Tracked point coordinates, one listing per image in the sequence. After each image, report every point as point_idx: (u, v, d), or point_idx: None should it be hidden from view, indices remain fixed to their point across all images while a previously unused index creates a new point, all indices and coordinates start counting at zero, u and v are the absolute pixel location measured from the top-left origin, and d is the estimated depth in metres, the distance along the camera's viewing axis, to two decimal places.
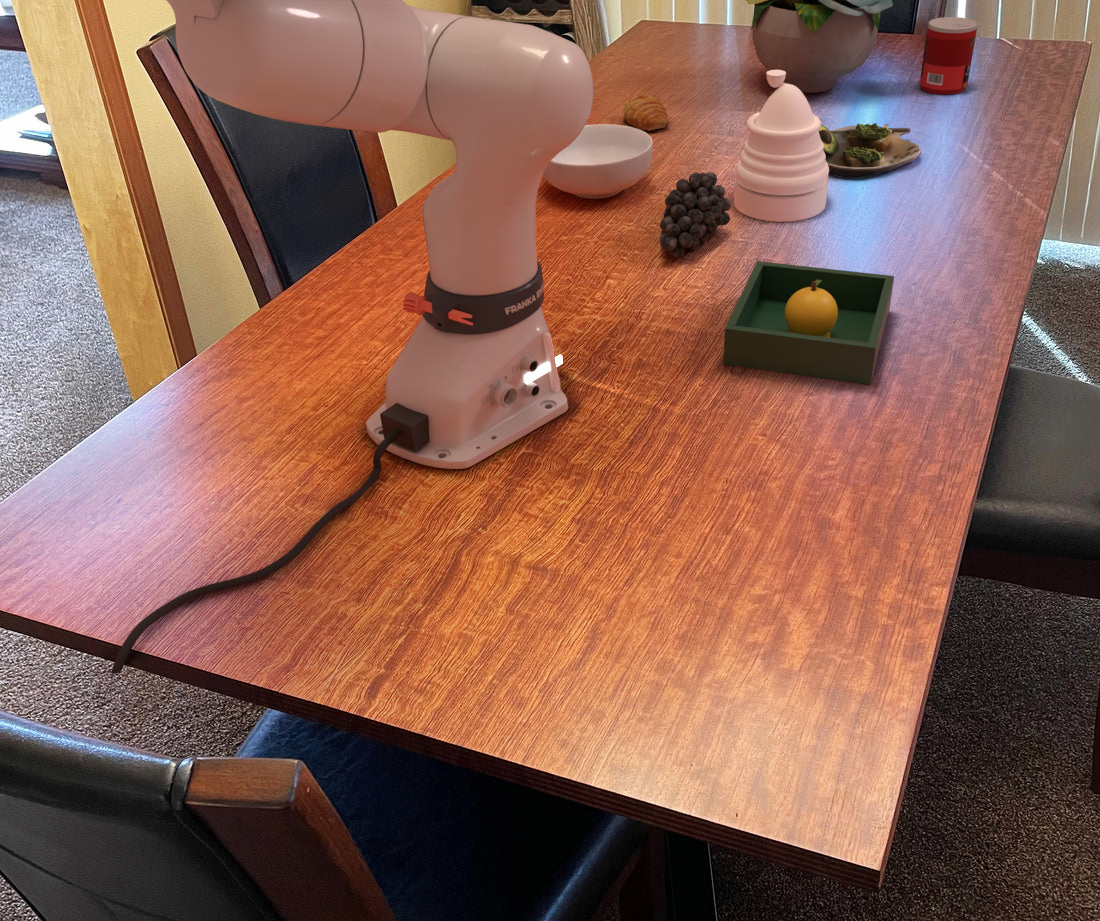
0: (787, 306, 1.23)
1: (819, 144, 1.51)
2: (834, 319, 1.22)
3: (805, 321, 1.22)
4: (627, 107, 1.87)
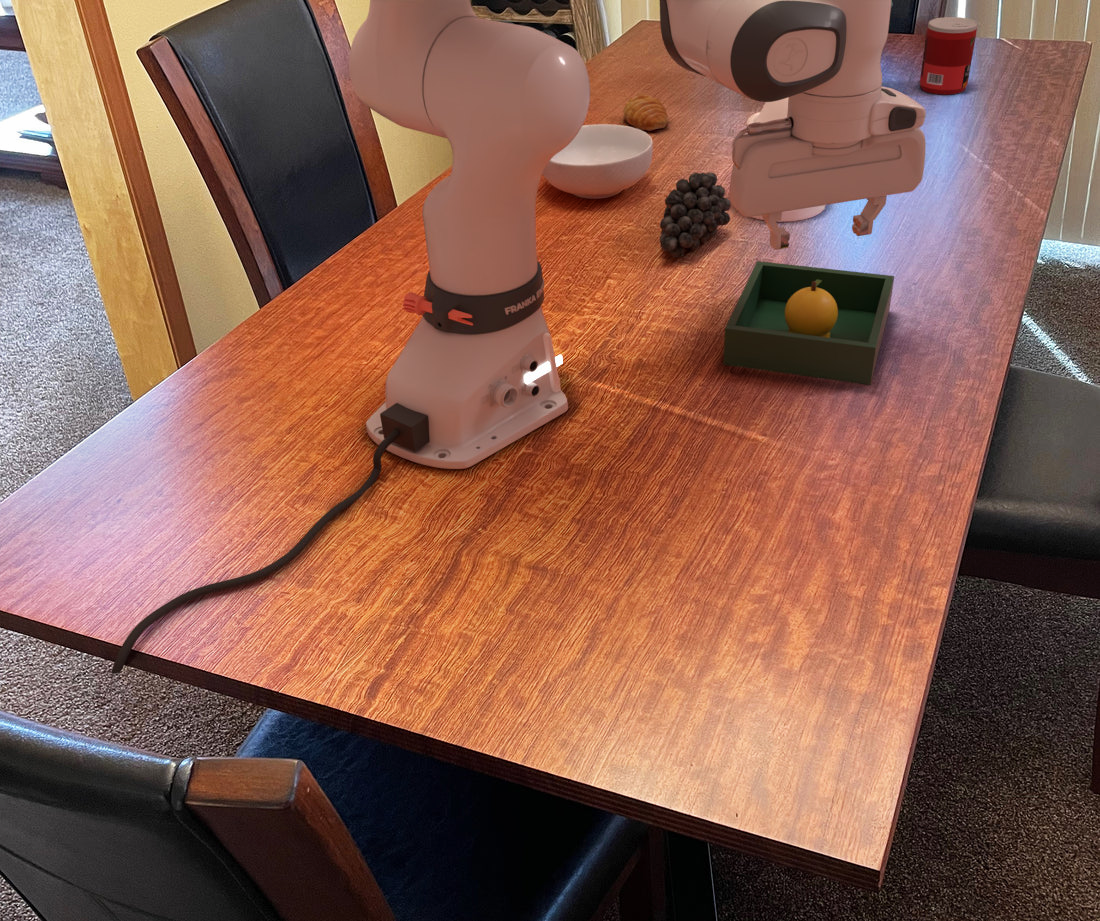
0: (787, 306, 1.23)
1: None
2: (834, 319, 1.22)
3: (805, 321, 1.22)
4: (627, 107, 1.87)
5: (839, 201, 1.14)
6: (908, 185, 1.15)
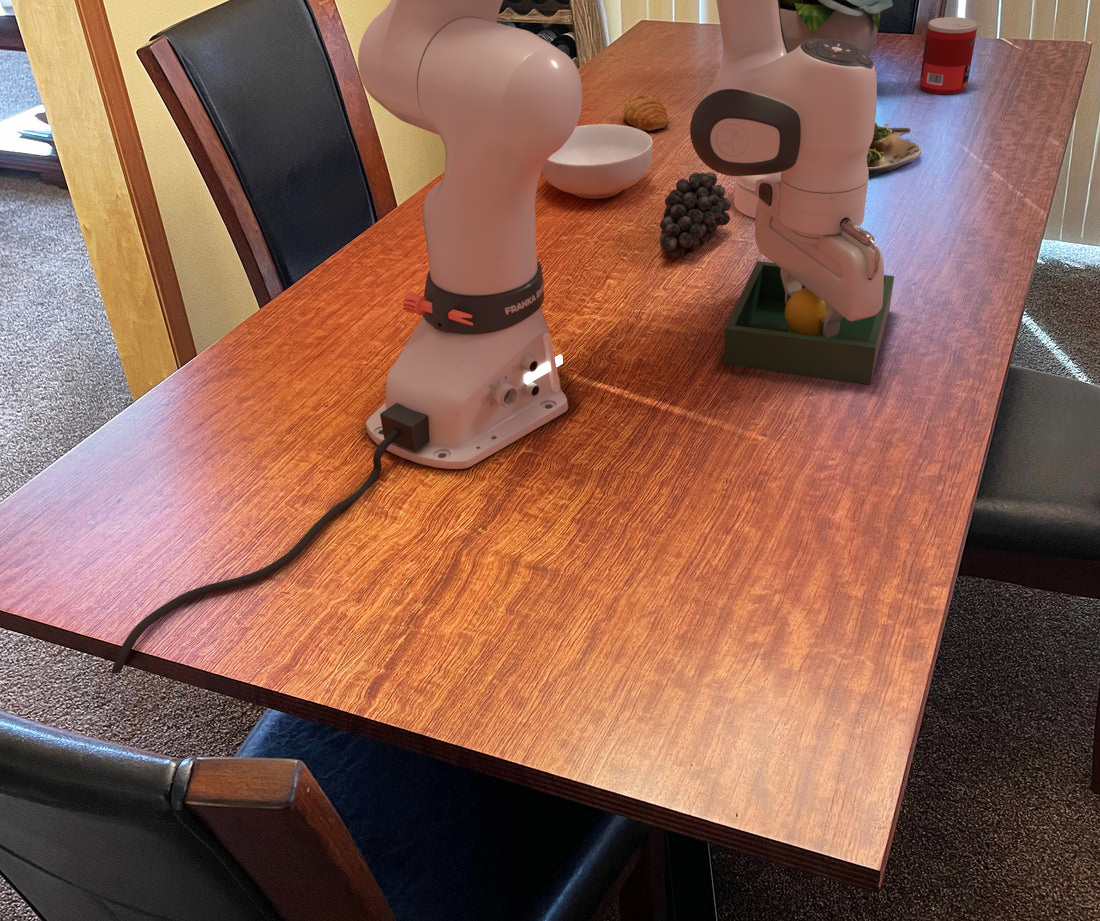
0: (787, 306, 1.23)
1: None
2: None
3: (805, 321, 1.22)
4: (627, 107, 1.87)
5: None
6: None
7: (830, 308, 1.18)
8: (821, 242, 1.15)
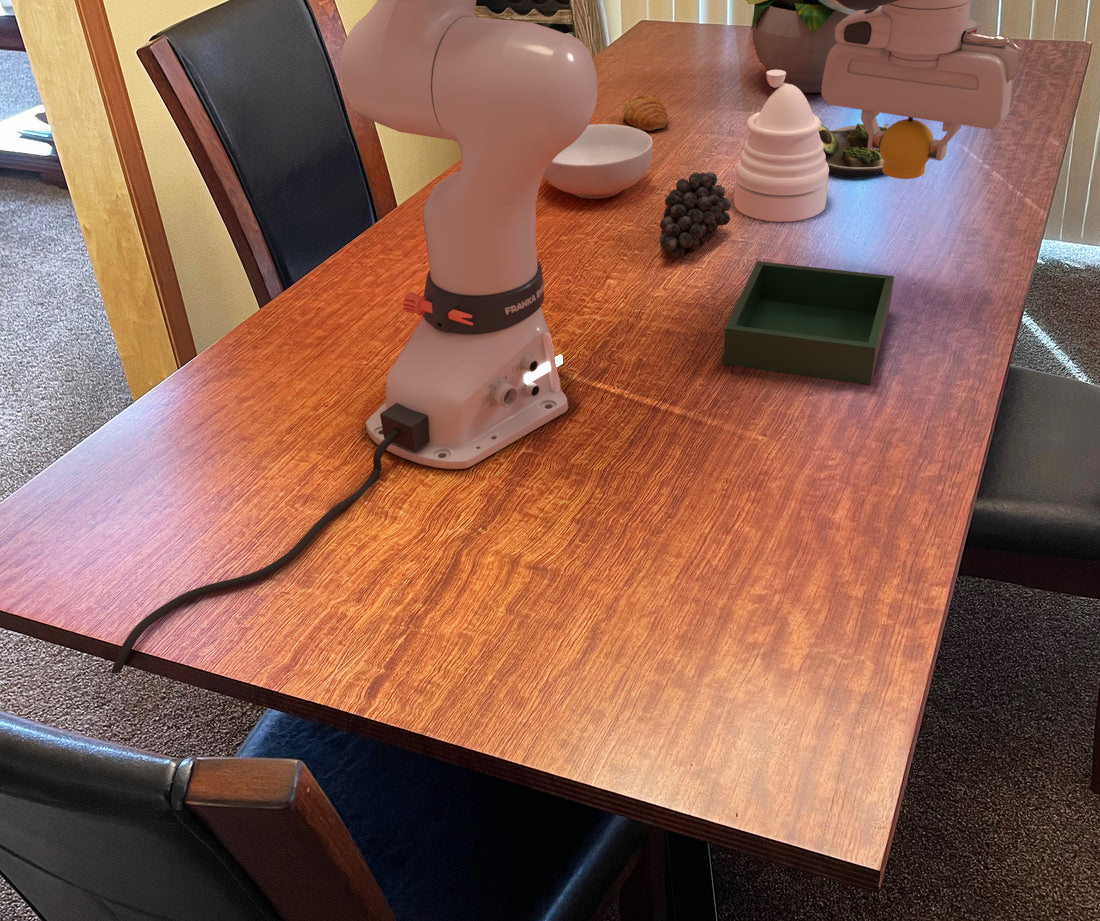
0: (891, 143, 1.24)
1: (819, 144, 1.51)
2: None
3: (918, 151, 1.23)
4: (627, 107, 1.87)
5: None
6: None
7: (951, 128, 1.20)
8: (943, 61, 1.17)
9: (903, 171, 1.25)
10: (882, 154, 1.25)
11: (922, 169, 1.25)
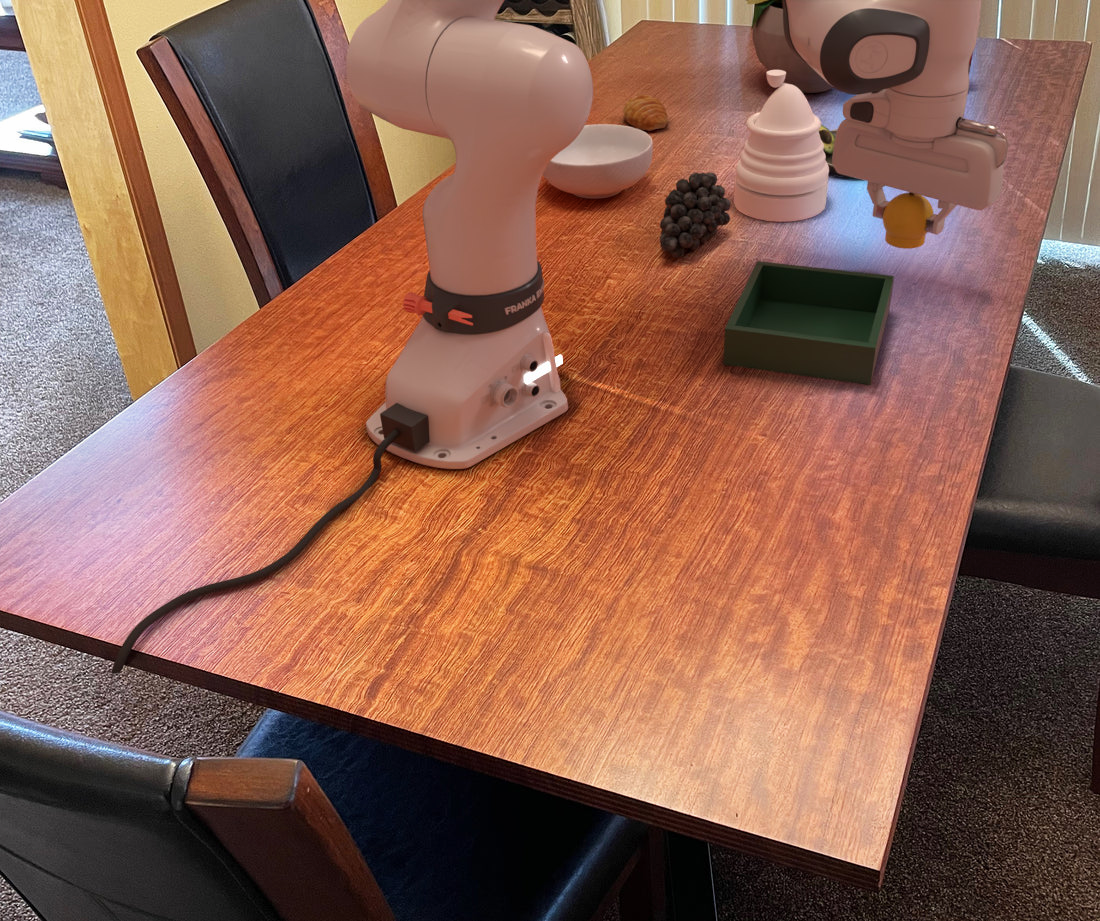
0: (891, 214, 1.31)
1: (819, 144, 1.51)
2: None
3: (915, 224, 1.30)
4: (627, 107, 1.87)
5: None
6: None
7: (945, 205, 1.28)
8: (938, 144, 1.24)
9: (901, 241, 1.33)
10: (883, 223, 1.33)
11: (921, 240, 1.33)
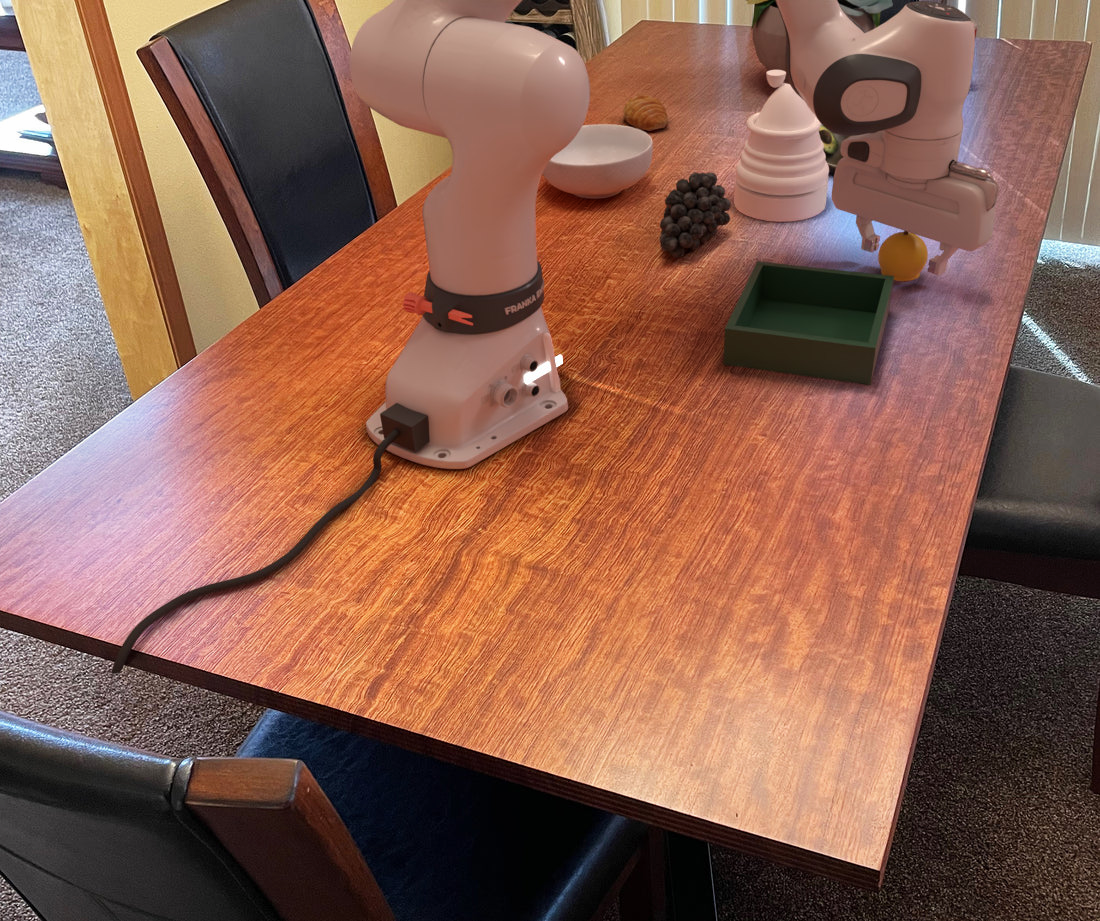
0: (885, 252, 1.35)
1: (819, 144, 1.51)
2: (927, 257, 1.35)
3: (908, 263, 1.33)
4: (627, 107, 1.87)
5: None
6: None
7: (947, 247, 1.29)
8: (931, 185, 1.27)
9: (895, 279, 1.36)
10: None
11: None
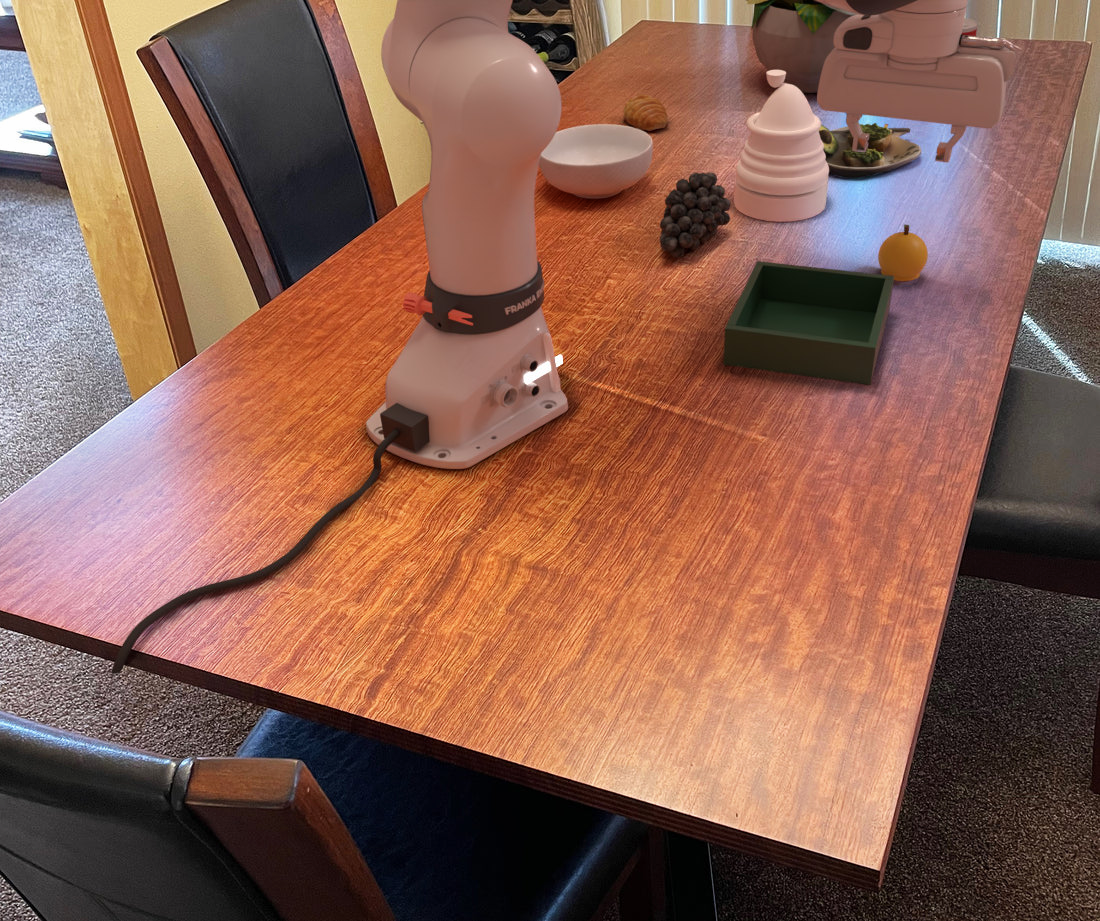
0: (885, 252, 1.35)
1: (819, 144, 1.51)
2: (927, 257, 1.35)
3: (908, 263, 1.33)
4: (627, 107, 1.87)
5: None
6: None
7: (959, 130, 1.23)
8: (943, 64, 1.19)
9: (895, 279, 1.36)
10: None
11: None
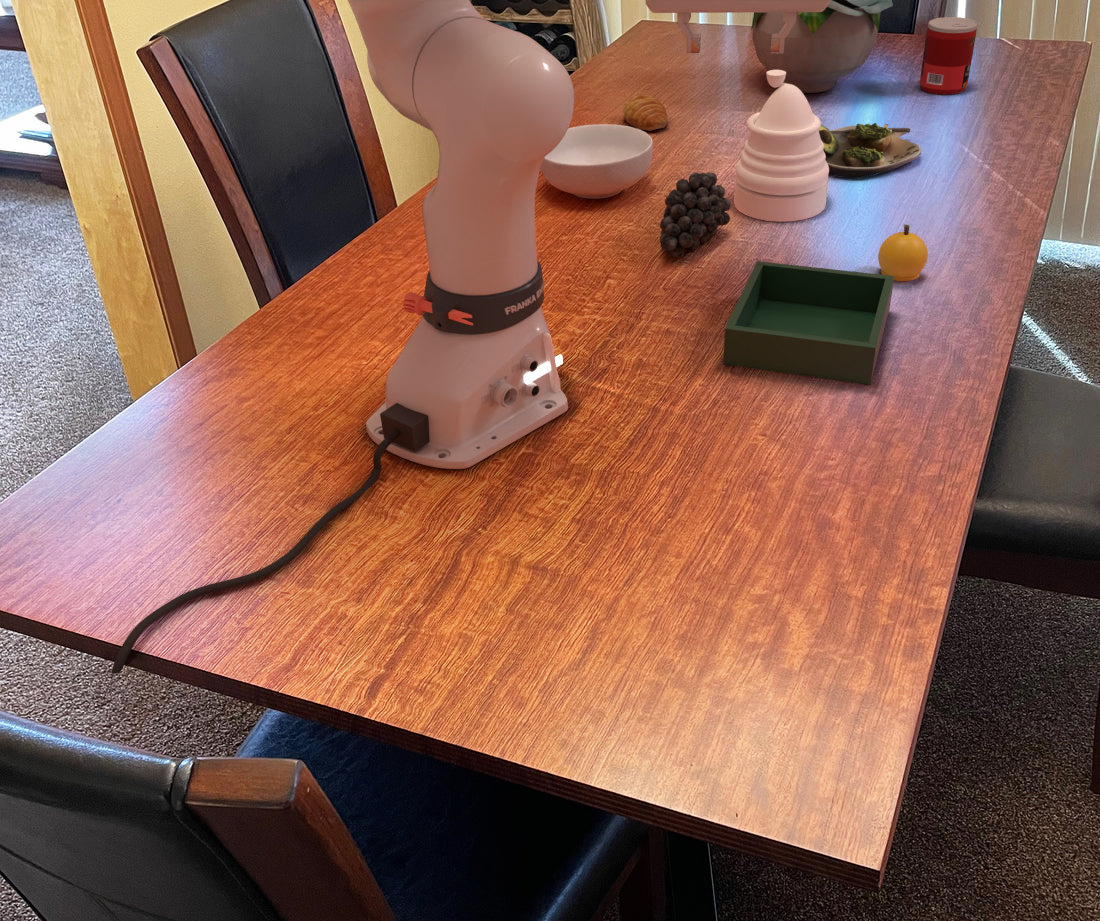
0: (885, 252, 1.35)
1: (819, 144, 1.51)
2: (927, 257, 1.35)
3: (908, 263, 1.33)
4: (627, 107, 1.87)
5: None
6: None
7: (792, 17, 1.22)
8: None
9: (895, 279, 1.36)
10: None
11: None
